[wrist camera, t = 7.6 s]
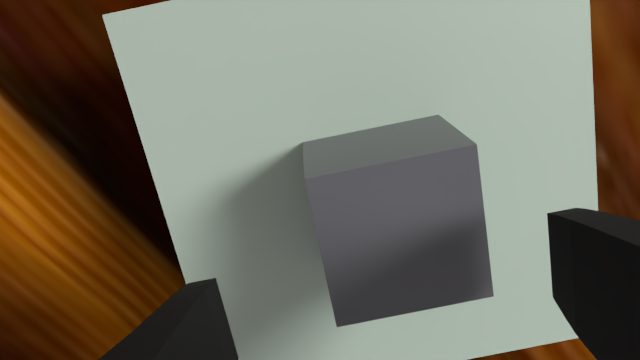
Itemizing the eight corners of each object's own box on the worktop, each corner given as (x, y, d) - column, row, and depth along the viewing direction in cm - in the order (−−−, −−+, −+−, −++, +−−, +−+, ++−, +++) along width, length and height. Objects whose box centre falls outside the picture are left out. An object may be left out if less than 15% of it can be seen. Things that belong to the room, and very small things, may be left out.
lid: (590, 319, 19) (671, 406, 15) (227, 390, 19) (208, 495, 15) (571, -83, 15) (675, -116, 11) (112, 14, 15) (43, 18, 11)
